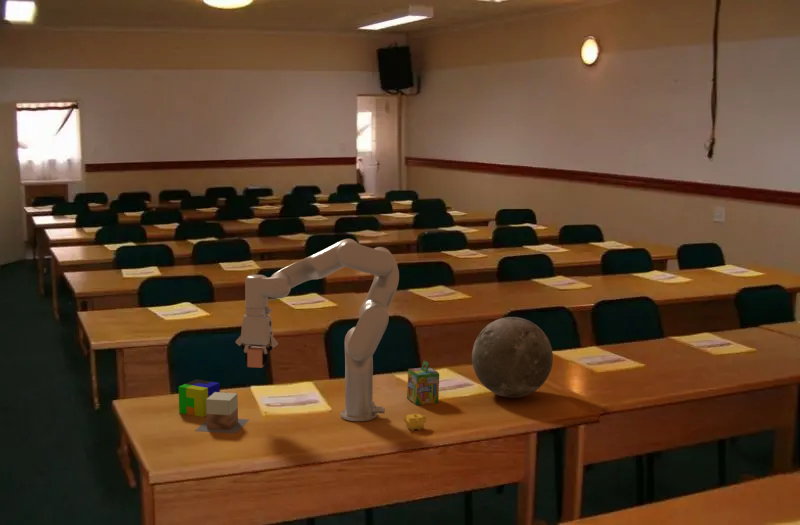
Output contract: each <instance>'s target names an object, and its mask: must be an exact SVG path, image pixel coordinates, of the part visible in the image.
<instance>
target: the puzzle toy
mask: <svg viewBox="0 0 800 525" xmlns="http://www.w3.org/2000/svg"><path fill="white" fill-rule="evenodd" d="M220 385H221V384H220V382H216V381H209V380H203V379H197V378H196V379H194V380H191V381H189V382H187V383H184V384H182V385H179V386H178V388H177V389H178V411H179V414H183V415H189V416H195V417H200V418H204V417H205V416H206V417H207V408H206V399H207V398H208V397H210V396H211V395H212V394H213V393H214V392H221V388H220Z"/></svg>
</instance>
